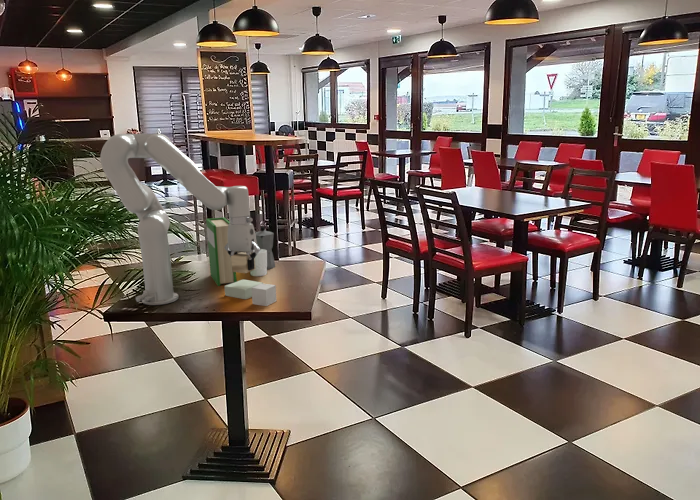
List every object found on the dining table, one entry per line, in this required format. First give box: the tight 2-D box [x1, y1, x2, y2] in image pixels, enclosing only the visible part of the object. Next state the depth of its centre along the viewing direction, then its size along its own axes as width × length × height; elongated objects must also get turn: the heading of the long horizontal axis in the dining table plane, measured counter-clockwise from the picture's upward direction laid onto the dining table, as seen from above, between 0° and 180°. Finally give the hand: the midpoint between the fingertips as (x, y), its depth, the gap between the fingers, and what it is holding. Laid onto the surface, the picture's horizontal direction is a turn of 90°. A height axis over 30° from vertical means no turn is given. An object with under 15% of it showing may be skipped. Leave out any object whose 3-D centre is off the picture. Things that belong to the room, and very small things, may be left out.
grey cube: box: [251, 282, 277, 307], centre depth 200 cm, size 6×6×6 cm
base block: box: [223, 279, 264, 300], centre depth 211 cm, size 10×10×4 cm
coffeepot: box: [255, 226, 276, 270], centre depth 249 cm, size 15×9×18 cm, turn 4°
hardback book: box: [205, 216, 238, 287], centre depth 229 cm, size 18×7×24 cm, turn 22°
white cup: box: [249, 249, 268, 277], centre depth 237 cm, size 8×8×10 cm
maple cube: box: [231, 252, 255, 274], centre depth 209 cm, size 6×6×6 cm
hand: (243, 268), depth 210 cm, fingers closed on maple cube, 6 cm apart
